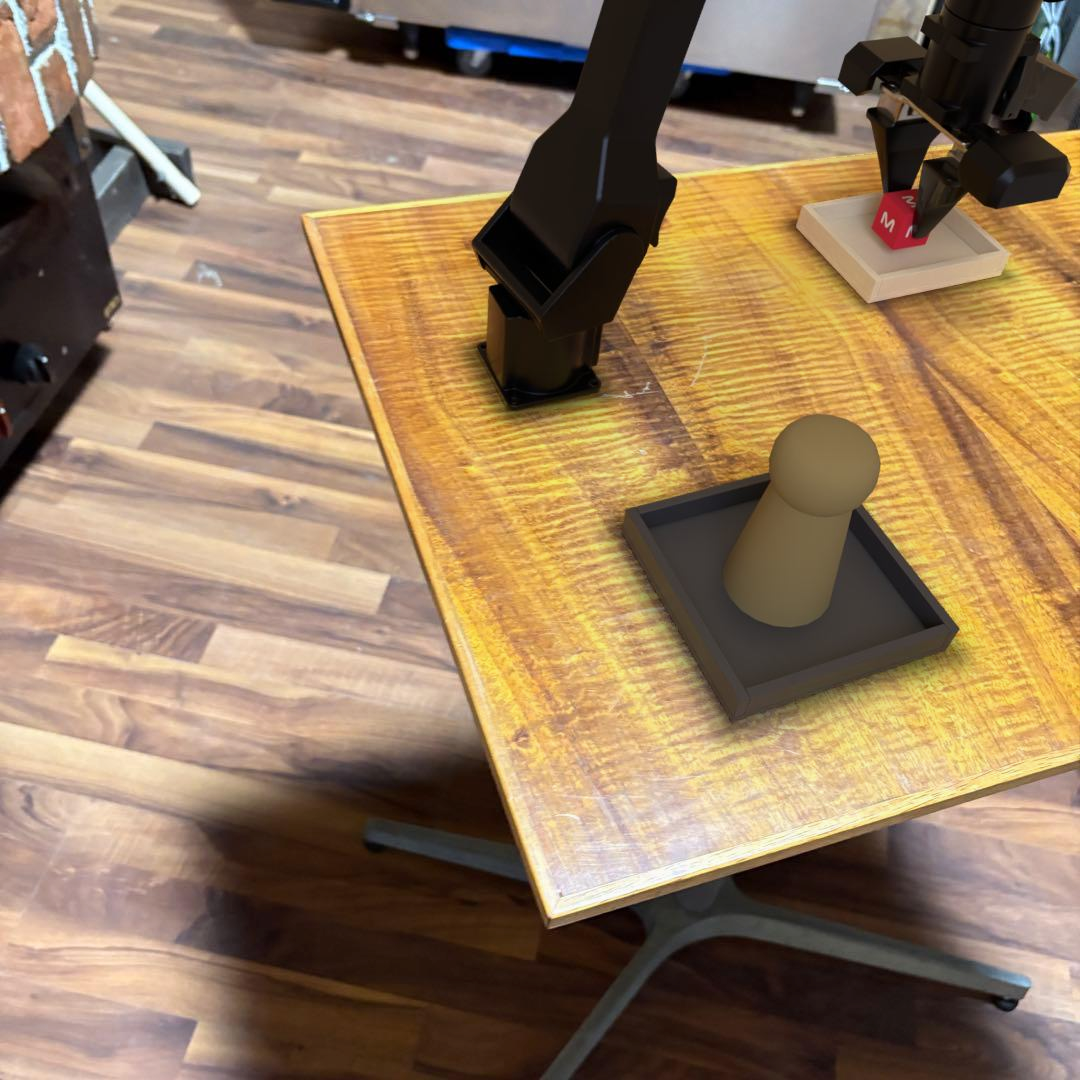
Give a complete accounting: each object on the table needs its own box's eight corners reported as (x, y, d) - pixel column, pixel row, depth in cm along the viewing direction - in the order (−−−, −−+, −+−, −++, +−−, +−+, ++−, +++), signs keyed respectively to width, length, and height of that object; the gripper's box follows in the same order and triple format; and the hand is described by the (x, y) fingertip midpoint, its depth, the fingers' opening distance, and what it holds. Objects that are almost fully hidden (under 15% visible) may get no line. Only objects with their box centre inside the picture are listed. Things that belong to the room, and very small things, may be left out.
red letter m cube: (925, 245, 78) (940, 210, 75) (892, 250, 77) (906, 215, 75) (903, 223, 79) (917, 188, 77) (870, 228, 79) (883, 193, 76)
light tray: (867, 303, 75) (876, 280, 73) (795, 227, 81) (802, 204, 79) (1000, 275, 78) (1011, 253, 77) (922, 204, 84) (931, 182, 83)
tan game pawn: (830, 637, 54) (900, 496, 46) (717, 614, 55) (766, 470, 46) (832, 552, 58) (897, 408, 50) (727, 531, 58) (773, 385, 50)
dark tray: (731, 722, 51) (740, 701, 49) (620, 531, 59) (625, 508, 57) (946, 650, 55) (960, 628, 53) (816, 480, 62) (825, 457, 61)
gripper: (1189, 64, 63) (1070, 278, 74) (997, -54, 73) (920, 149, 85) (1047, 83, 59) (946, 304, 71) (868, -43, 70) (806, 167, 82)
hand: (905, 225), depth 78 cm, fingers closed on red letter m cube, 3 cm apart
